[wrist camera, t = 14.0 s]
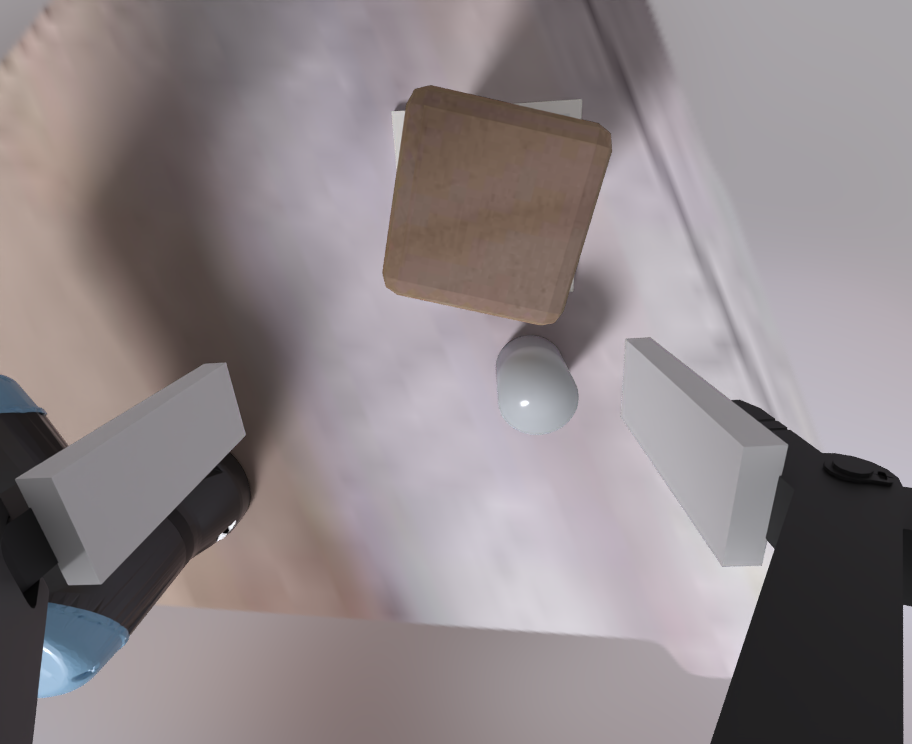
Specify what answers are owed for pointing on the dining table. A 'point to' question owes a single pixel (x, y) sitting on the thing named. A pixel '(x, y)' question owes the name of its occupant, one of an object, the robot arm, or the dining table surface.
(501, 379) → the pale grey egg
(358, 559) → the dining table surface
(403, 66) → the dining table surface
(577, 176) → the wooden block
